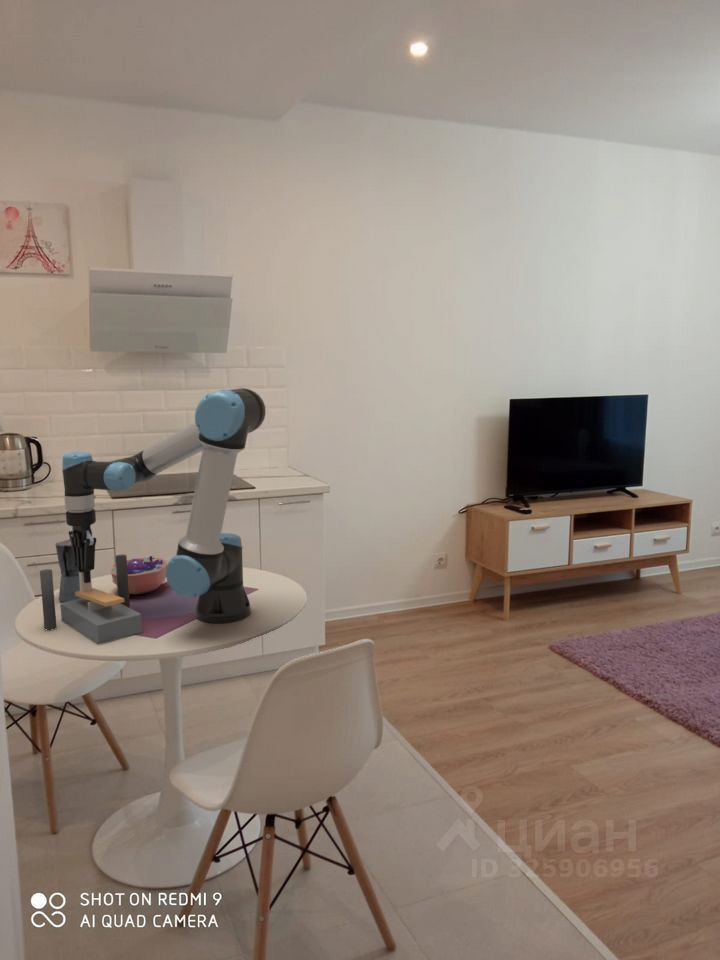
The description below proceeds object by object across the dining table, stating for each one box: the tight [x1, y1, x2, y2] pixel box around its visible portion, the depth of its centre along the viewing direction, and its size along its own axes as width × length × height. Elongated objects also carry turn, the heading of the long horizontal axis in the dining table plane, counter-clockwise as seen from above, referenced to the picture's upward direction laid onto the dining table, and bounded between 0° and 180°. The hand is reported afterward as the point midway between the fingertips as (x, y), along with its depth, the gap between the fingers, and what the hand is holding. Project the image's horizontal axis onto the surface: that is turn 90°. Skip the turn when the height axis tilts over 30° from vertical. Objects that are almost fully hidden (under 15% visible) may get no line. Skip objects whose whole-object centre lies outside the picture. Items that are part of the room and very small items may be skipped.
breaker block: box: [59, 598, 143, 645], centre depth 202 cm, size 24×12×7 cm, turn 43°
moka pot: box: [55, 538, 81, 603], centre depth 223 cm, size 10×15×20 cm, turn 10°
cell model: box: [110, 555, 168, 596], centre depth 231 cm, size 17×20×11 cm
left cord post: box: [39, 568, 58, 631], centre depth 200 cm, size 3×3×16 cm
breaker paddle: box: [75, 587, 124, 606], centre depth 201 cm, size 20×5×1 cm, turn 43°
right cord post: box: [115, 554, 131, 608], centre depth 214 cm, size 3×3×16 cm
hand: (86, 592), depth 207 cm, fingers closed
